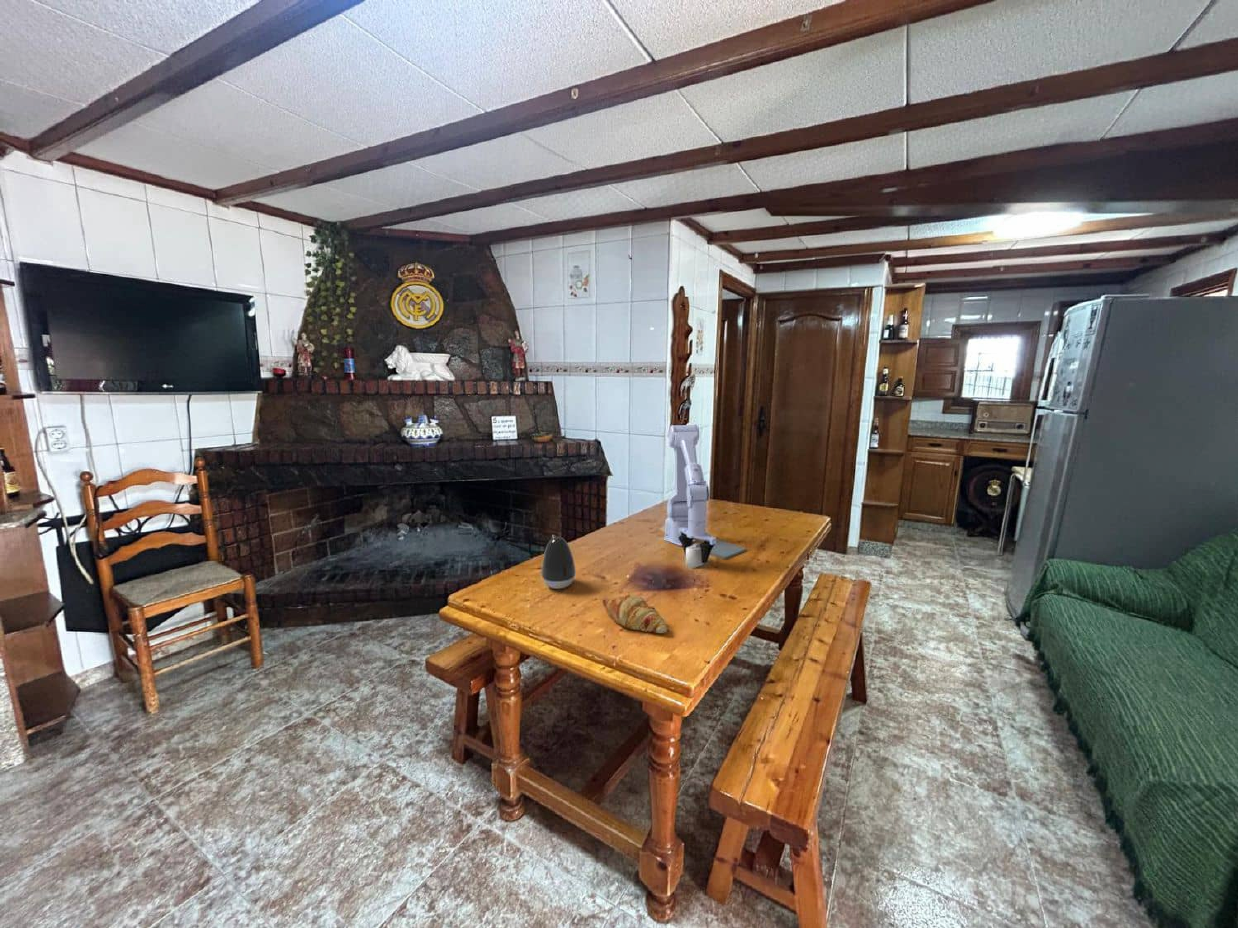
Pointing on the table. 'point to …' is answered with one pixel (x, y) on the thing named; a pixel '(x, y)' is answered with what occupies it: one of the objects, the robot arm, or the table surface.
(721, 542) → the slate mat
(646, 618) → the croissant
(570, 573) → the dark grey egg shape
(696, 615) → the table surface
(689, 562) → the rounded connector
